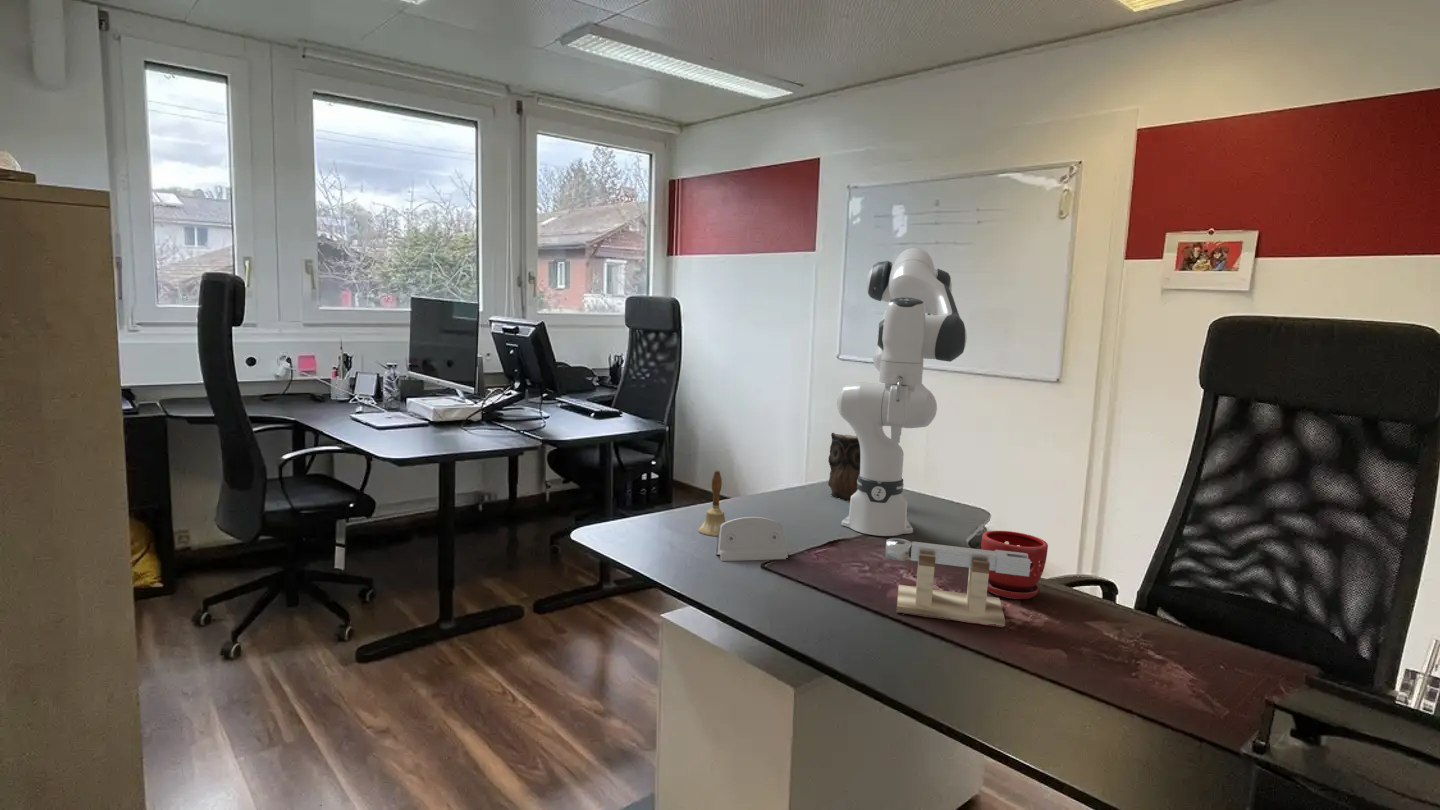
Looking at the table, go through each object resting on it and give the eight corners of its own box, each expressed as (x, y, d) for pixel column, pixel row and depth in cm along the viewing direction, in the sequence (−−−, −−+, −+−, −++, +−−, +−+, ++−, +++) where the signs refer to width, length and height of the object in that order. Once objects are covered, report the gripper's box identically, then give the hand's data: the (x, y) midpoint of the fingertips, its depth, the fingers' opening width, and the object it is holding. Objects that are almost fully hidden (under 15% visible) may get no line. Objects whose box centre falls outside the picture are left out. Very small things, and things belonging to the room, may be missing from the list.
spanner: (884, 558, 154) (885, 543, 153) (885, 551, 159) (886, 536, 158) (1029, 576, 147) (1030, 560, 147) (1025, 568, 152) (1027, 552, 152)
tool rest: (898, 591, 162) (902, 538, 161) (998, 605, 158) (1003, 550, 156) (896, 613, 151) (900, 556, 149) (1004, 628, 146) (1010, 570, 144)
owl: (873, 503, 234) (878, 438, 231) (832, 502, 233) (836, 437, 230) (862, 493, 246) (867, 431, 243) (823, 492, 245) (827, 430, 242)
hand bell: (734, 535, 196) (737, 474, 194) (702, 536, 194) (705, 474, 192) (726, 526, 204) (728, 466, 202) (695, 527, 202) (697, 467, 200)
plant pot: (1048, 606, 158) (1055, 550, 156) (982, 599, 160) (987, 543, 159) (1035, 584, 171) (1040, 531, 169) (973, 577, 173) (978, 525, 171)
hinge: (719, 561, 177) (718, 516, 179) (715, 561, 181) (714, 518, 183) (789, 558, 180) (787, 515, 182) (783, 559, 185) (781, 516, 187)
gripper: (915, 380, 153) (910, 449, 155) (916, 372, 173) (911, 433, 174) (883, 378, 154) (878, 446, 156) (887, 370, 174) (883, 430, 176)
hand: (895, 439), depth 166 cm, fingers open, 8 cm apart
